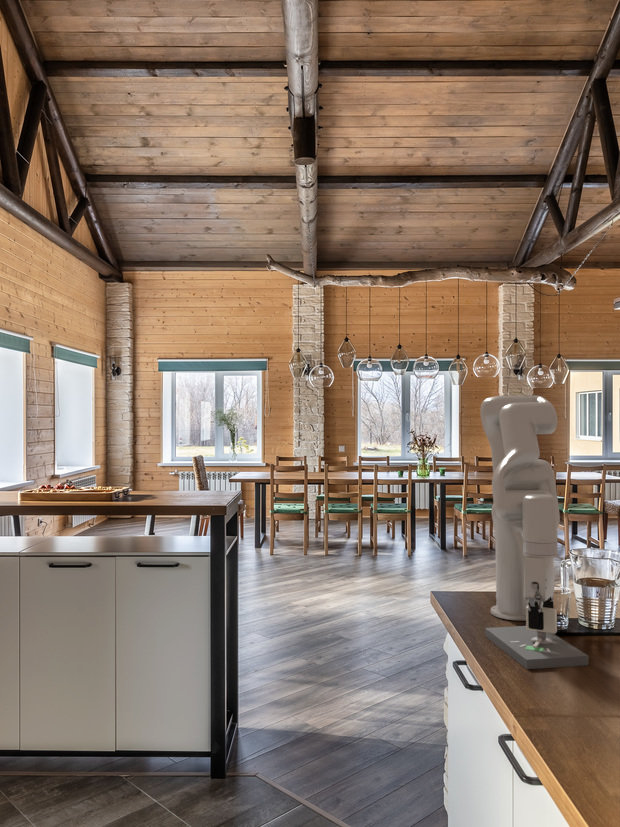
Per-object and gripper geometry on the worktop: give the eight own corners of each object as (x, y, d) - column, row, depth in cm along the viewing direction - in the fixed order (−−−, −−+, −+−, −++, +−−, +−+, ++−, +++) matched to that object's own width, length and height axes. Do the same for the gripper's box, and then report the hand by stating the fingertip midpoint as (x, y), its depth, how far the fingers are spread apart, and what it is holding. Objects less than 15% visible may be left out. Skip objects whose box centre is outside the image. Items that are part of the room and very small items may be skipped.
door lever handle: (519, 646, 148) (519, 614, 148) (528, 635, 156) (527, 605, 156) (550, 650, 145) (549, 618, 145) (557, 639, 152) (556, 608, 152)
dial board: (485, 636, 163) (485, 627, 163) (539, 633, 165) (539, 624, 165) (526, 669, 141) (526, 659, 141) (588, 665, 143) (588, 655, 143)
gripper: (532, 541, 163) (533, 611, 162) (513, 553, 148) (514, 631, 148) (565, 543, 159) (566, 616, 158) (548, 556, 144) (549, 636, 144)
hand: (541, 623), depth 153 cm, fingers open, 9 cm apart
